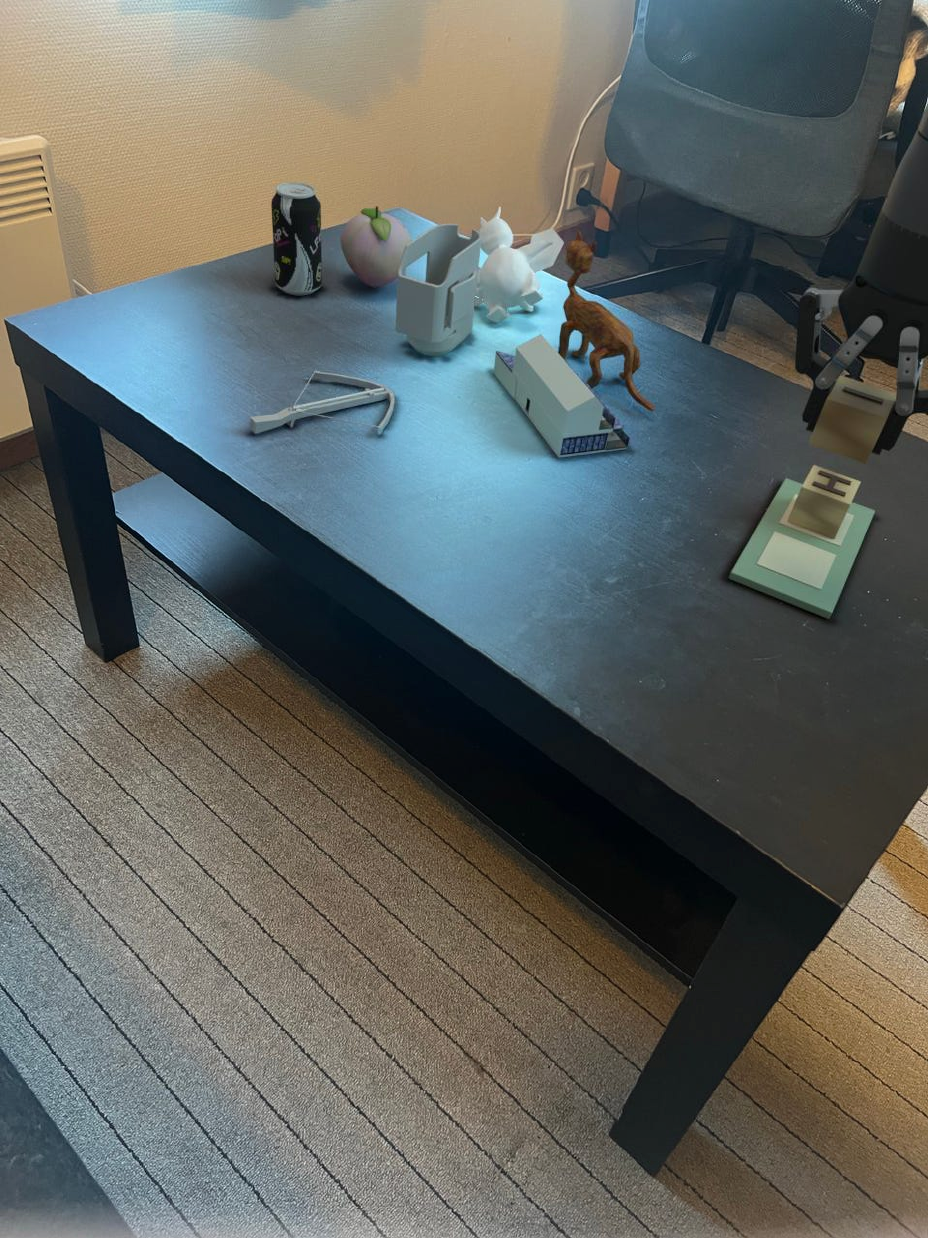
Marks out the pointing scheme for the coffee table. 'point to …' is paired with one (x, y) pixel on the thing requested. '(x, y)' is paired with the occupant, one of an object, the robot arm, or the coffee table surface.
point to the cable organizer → (438, 290)
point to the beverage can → (297, 238)
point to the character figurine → (512, 268)
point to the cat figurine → (596, 325)
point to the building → (558, 401)
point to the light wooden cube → (823, 501)
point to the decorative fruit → (374, 246)
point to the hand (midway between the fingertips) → (845, 437)
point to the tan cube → (852, 419)
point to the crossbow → (328, 404)
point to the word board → (800, 555)
